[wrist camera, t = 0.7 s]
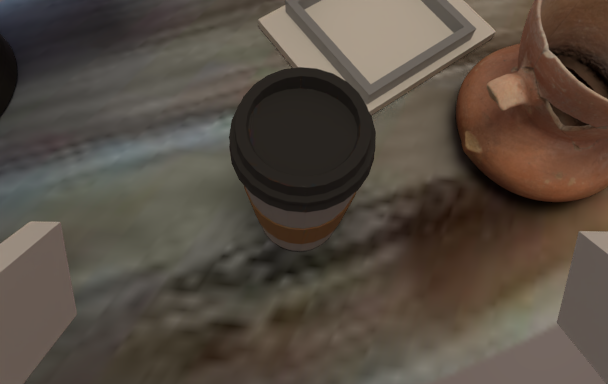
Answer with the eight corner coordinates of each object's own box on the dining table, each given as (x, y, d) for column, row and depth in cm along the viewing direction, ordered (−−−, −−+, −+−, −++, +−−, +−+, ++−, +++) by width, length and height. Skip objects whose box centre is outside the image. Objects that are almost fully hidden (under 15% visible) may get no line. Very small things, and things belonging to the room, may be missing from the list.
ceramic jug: (477, 239, 39) (581, 168, 25) (407, 94, 43) (463, -29, 30) (658, 177, 42) (836, 84, 28) (573, 48, 46) (692, -84, 33)
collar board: (258, 26, 46) (256, 8, 44) (400, -50, 50) (405, -71, 48) (346, 131, 42) (349, 116, 40) (491, 38, 46) (502, 20, 44)
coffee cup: (261, 160, 41) (246, 46, 27) (357, 180, 40) (392, 74, 26) (236, 253, 38) (204, 179, 24) (339, 275, 37) (368, 213, 23)
